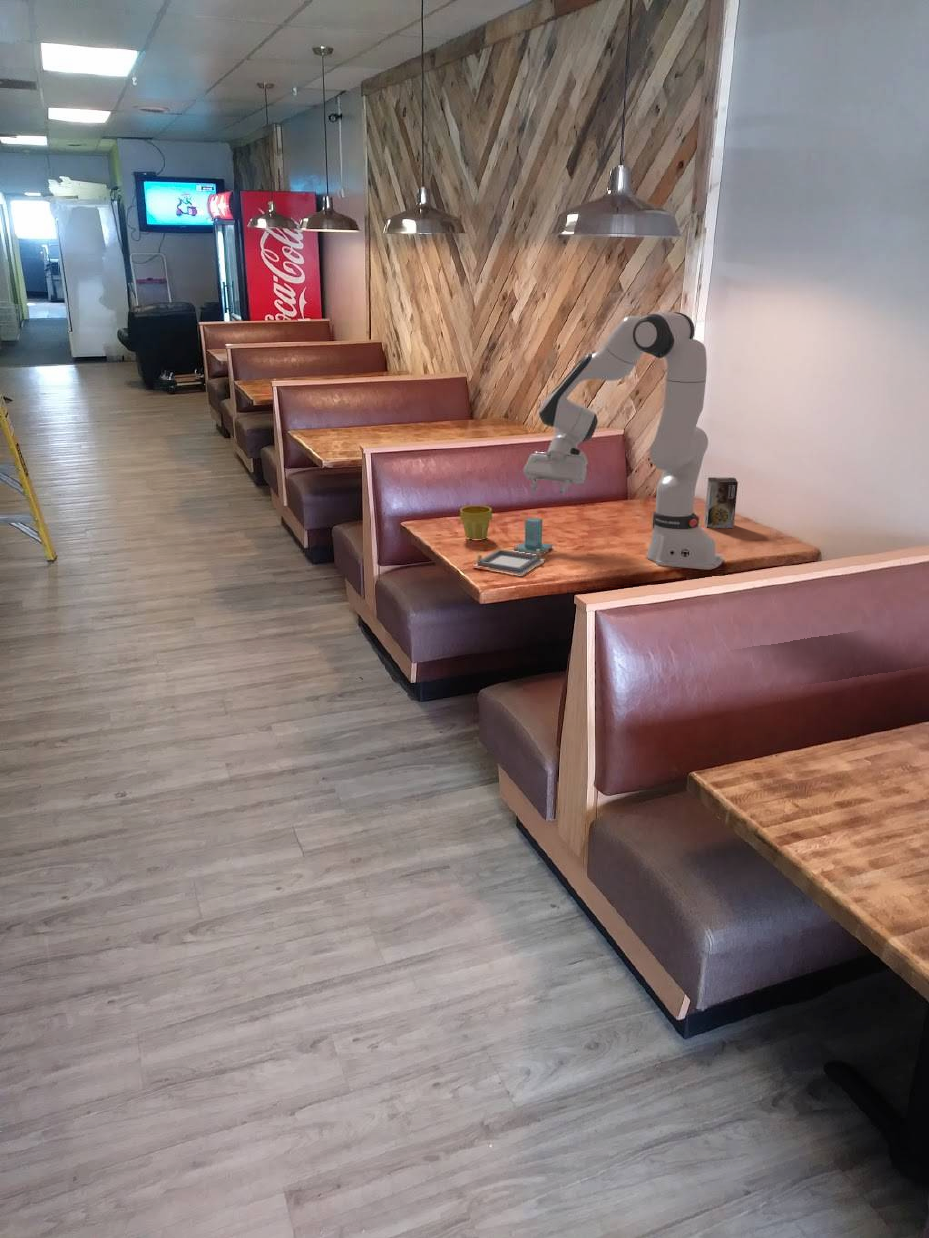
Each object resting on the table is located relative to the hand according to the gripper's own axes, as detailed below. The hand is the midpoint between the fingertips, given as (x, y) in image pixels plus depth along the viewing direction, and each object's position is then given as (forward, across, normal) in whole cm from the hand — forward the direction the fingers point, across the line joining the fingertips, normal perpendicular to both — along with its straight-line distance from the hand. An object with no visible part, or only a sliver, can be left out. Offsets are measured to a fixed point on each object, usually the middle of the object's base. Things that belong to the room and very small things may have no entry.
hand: (547, 490), depth 286 cm
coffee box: (-20, +44, +44) cm, 65 cm away
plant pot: (+17, -22, +7) cm, 29 cm away
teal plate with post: (+19, 0, +5) cm, 20 cm away
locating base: (+31, 0, -7) cm, 32 cm away
